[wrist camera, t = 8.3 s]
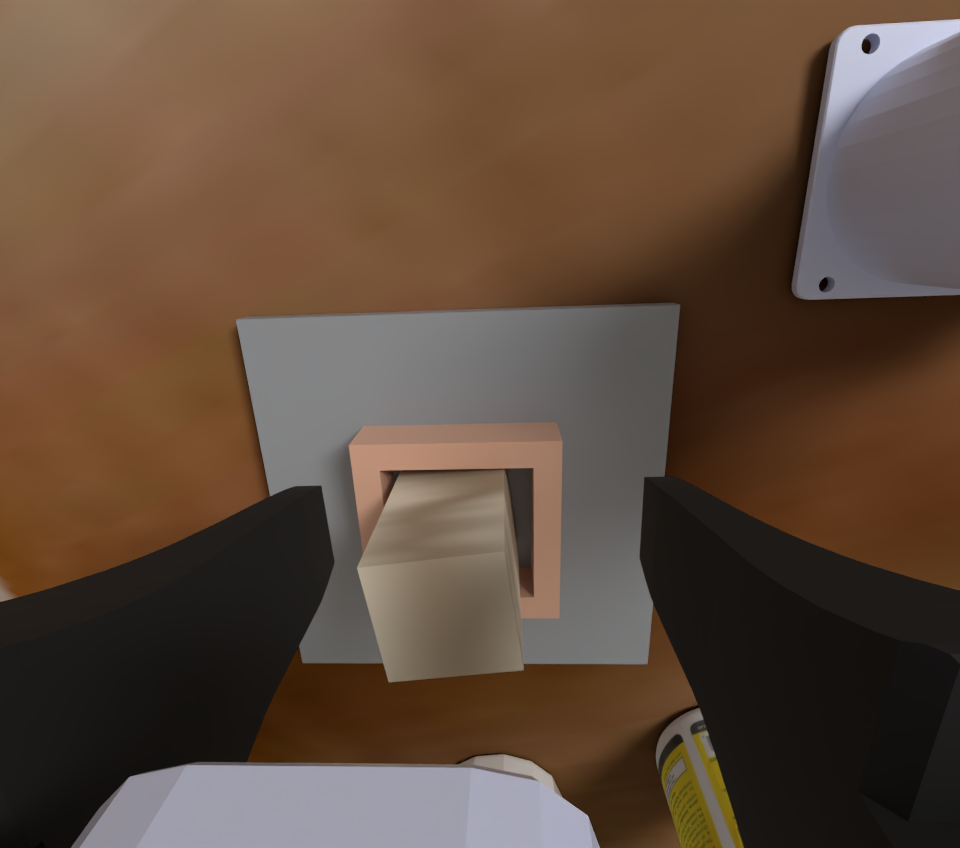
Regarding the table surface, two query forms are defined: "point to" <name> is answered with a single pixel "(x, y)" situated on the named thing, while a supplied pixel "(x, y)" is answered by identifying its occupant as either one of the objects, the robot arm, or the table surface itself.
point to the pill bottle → (695, 785)
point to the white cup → (515, 767)
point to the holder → (479, 449)
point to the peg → (445, 576)
